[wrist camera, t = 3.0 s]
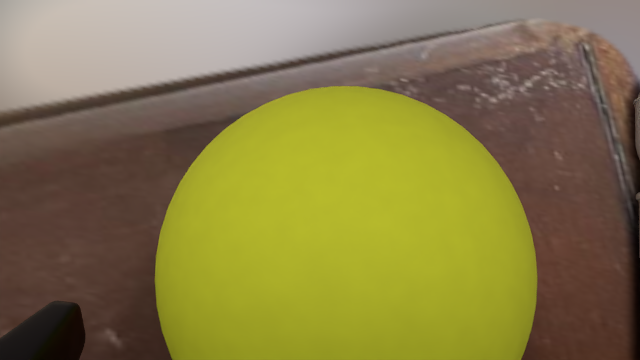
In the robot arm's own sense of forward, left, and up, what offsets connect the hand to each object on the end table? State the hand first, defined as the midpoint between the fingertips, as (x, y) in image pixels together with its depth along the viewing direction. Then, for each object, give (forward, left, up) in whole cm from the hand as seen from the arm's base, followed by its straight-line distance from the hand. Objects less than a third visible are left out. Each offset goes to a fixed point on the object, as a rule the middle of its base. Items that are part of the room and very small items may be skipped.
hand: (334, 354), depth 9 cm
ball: (0, -2, -1) cm, 2 cm away
